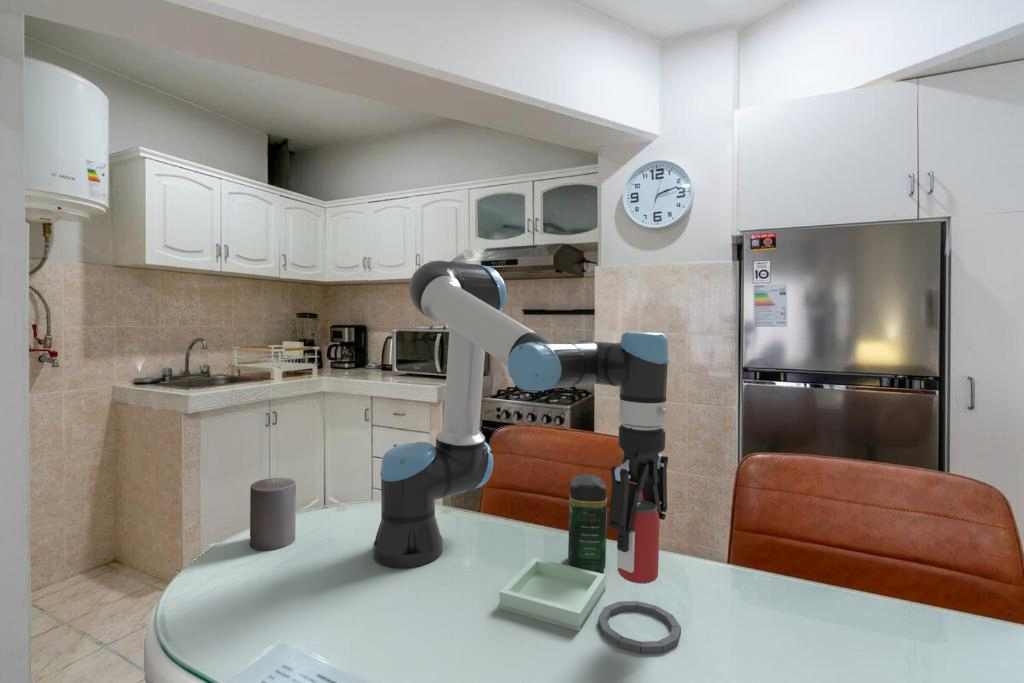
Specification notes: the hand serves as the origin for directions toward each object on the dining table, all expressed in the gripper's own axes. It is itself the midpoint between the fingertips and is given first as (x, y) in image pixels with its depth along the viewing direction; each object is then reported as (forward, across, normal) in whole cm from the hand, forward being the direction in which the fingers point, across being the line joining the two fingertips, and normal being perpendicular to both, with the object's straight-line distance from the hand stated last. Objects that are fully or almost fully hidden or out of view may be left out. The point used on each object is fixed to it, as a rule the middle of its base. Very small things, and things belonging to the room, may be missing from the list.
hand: (637, 561), depth 85 cm
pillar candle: (+13, -33, +76) cm, 84 cm away
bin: (+11, -4, +15) cm, 19 cm away
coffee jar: (+12, +12, +20) cm, 26 cm away
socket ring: (+11, 0, -1) cm, 11 cm away
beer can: (+2, 0, 0) cm, 2 cm away
